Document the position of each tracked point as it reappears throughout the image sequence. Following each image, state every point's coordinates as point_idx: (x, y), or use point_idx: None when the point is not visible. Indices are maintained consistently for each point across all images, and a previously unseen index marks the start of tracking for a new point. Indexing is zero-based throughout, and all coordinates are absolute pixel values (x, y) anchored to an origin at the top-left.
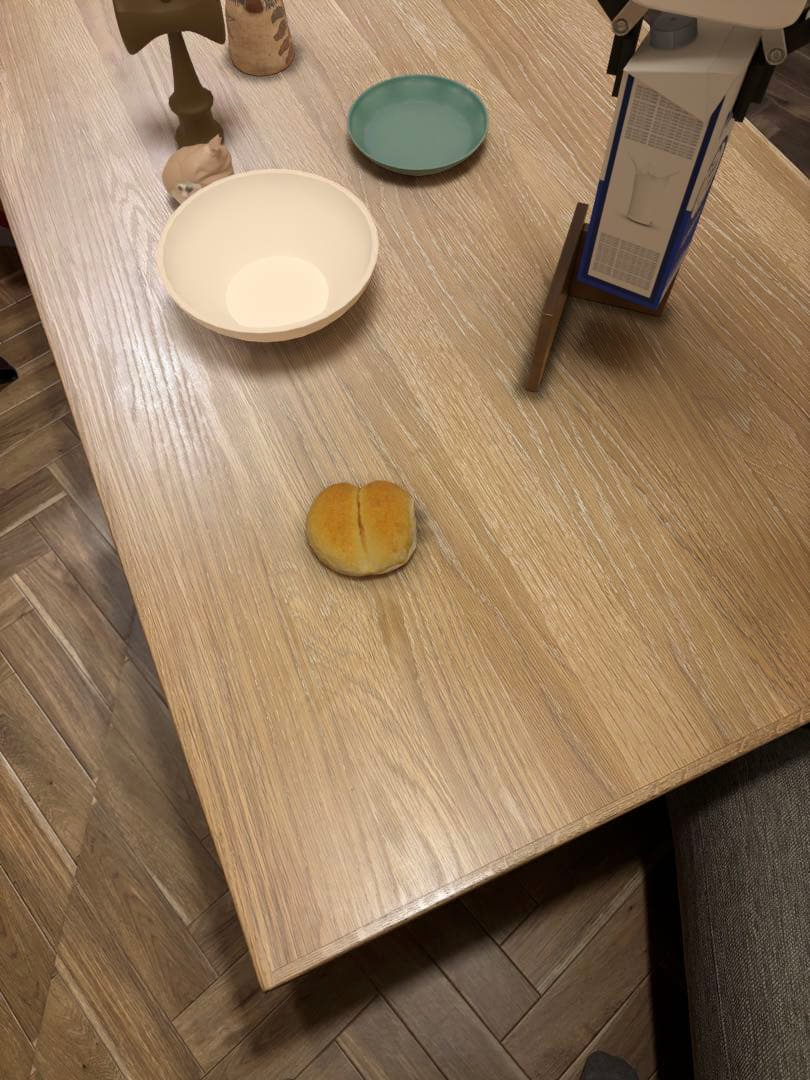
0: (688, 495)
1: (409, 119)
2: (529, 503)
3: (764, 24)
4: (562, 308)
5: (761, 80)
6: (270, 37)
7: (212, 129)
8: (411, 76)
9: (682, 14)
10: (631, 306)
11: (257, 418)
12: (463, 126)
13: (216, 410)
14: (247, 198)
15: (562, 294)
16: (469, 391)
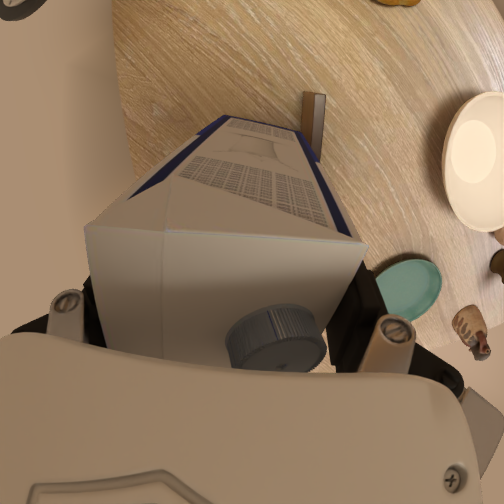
0: (181, 43)
1: (404, 299)
2: (287, 6)
3: (34, 340)
4: None
5: None
6: (469, 323)
7: (498, 264)
8: None
9: (271, 372)
10: None
11: (466, 60)
12: None
13: (484, 68)
14: (500, 211)
15: (307, 139)
16: (351, 84)
